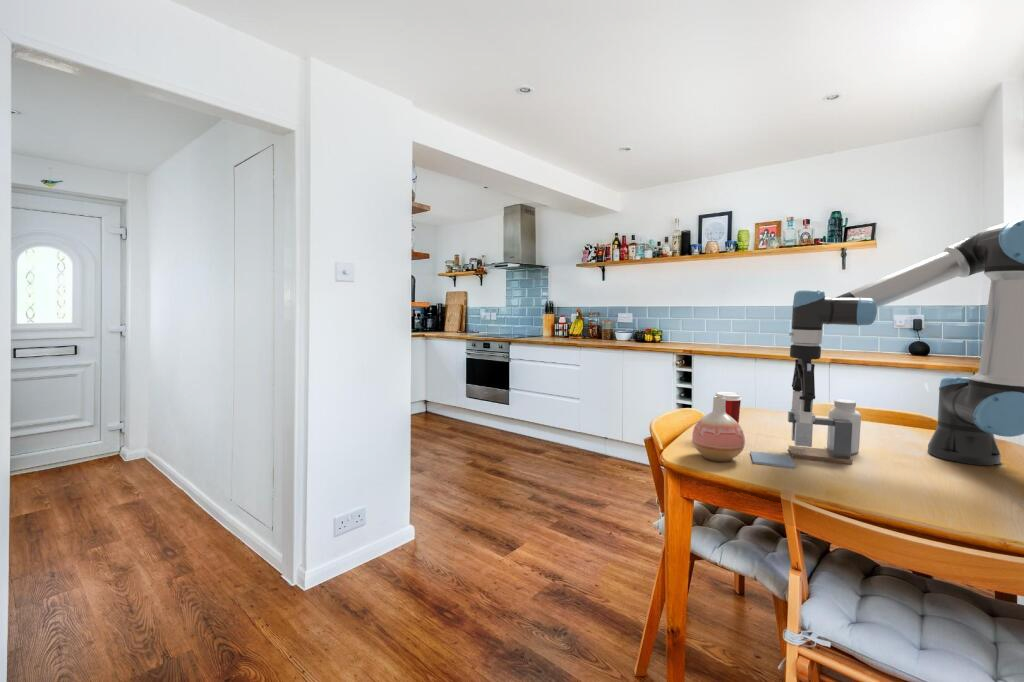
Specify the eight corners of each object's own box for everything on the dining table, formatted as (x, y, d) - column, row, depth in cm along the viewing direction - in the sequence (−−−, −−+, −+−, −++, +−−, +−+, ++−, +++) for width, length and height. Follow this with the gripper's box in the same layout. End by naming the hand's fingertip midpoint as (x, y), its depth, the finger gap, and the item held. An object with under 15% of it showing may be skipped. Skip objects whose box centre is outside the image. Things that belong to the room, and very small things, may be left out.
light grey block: (808, 440, 140) (810, 410, 140) (813, 447, 134) (815, 415, 133) (789, 438, 142) (790, 409, 142) (793, 445, 136) (794, 414, 135)
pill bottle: (830, 452, 141) (832, 402, 139) (824, 445, 148) (826, 397, 147) (862, 455, 138) (865, 404, 136) (854, 447, 145) (857, 399, 144)
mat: (789, 457, 136) (789, 455, 136) (795, 468, 127) (795, 466, 127) (750, 453, 140) (750, 451, 140) (753, 463, 130) (753, 461, 130)
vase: (683, 458, 134) (685, 397, 133) (702, 448, 144) (704, 391, 143) (734, 470, 125) (736, 404, 124) (750, 458, 135) (753, 396, 134)
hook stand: (843, 454, 138) (845, 413, 137) (852, 464, 130) (854, 420, 129) (784, 449, 144) (786, 409, 143) (789, 457, 135) (791, 415, 135)
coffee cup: (734, 436, 158) (736, 391, 156) (744, 443, 149) (746, 396, 148) (708, 435, 158) (710, 391, 157) (716, 442, 150) (718, 395, 149)
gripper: (784, 341, 149) (780, 407, 150) (798, 347, 126) (793, 426, 127) (812, 342, 146) (807, 410, 148) (831, 348, 123) (826, 429, 125)
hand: (800, 417), depth 138 cm, fingers open, 13 cm apart
